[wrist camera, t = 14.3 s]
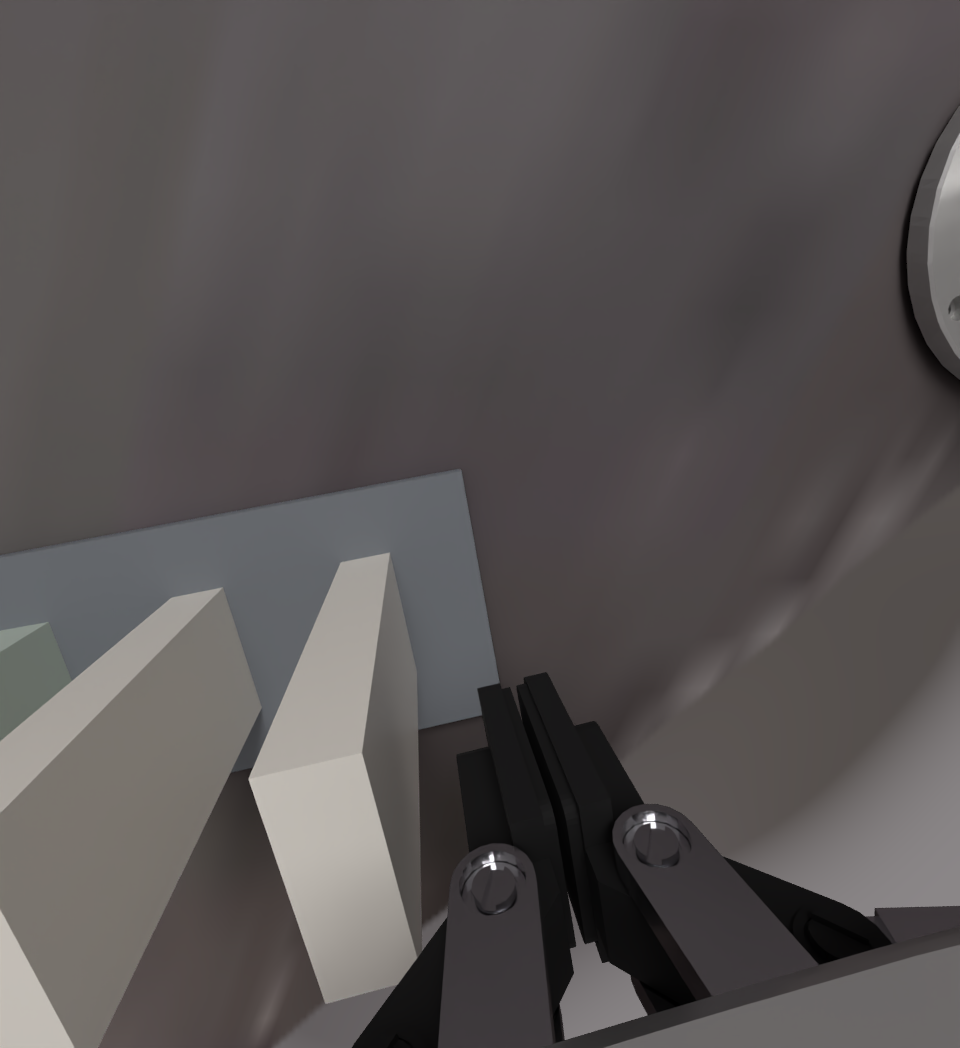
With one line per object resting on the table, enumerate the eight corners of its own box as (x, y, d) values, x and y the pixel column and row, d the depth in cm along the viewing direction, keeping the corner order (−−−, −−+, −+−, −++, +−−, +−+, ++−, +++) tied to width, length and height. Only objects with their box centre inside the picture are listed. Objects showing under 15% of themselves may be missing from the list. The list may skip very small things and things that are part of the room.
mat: (460, 468, 19) (461, 471, 18) (502, 701, 22) (504, 709, 21) (-523, 653, 16) (-557, 662, 16) (-342, 893, 19) (-365, 908, 18)
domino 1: (222, 587, 18) (-34, 847, 8) (261, 707, 20) (87, 1070, 9) (171, 597, 18) (-162, 876, 8) (213, 718, 20) (-21, 1099, 9)
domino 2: (389, 552, 19) (361, 752, 8) (416, 672, 20) (422, 978, 10) (340, 562, 19) (248, 779, 8) (371, 682, 20) (325, 1004, 9)
